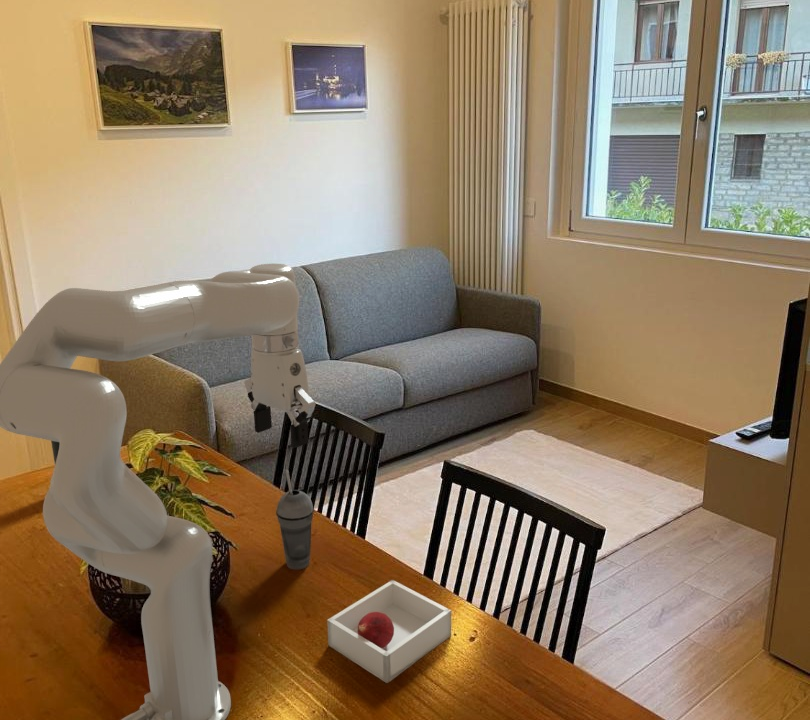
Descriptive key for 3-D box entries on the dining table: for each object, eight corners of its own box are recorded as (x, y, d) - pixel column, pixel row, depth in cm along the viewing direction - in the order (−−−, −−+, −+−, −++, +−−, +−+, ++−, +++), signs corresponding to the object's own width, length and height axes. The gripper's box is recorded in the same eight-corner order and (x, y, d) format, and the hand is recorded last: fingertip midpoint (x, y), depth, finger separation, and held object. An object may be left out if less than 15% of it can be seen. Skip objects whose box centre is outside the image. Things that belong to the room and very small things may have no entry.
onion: (395, 608, 131) (370, 602, 125) (407, 641, 128) (381, 636, 121) (368, 624, 132) (341, 619, 126) (379, 657, 129) (352, 653, 123)
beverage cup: (306, 576, 150) (301, 481, 144) (272, 570, 152) (266, 476, 146) (322, 556, 156) (318, 465, 150) (289, 550, 158) (284, 460, 152)
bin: (387, 683, 121) (386, 656, 120) (328, 645, 130) (327, 619, 128) (451, 635, 132) (451, 610, 131) (392, 603, 141) (392, 579, 139)
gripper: (327, 345, 124) (332, 444, 129) (261, 327, 135) (267, 419, 140) (291, 355, 119) (297, 458, 124) (224, 336, 130) (232, 431, 135)
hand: (281, 437), depth 132 cm, fingers open, 9 cm apart
